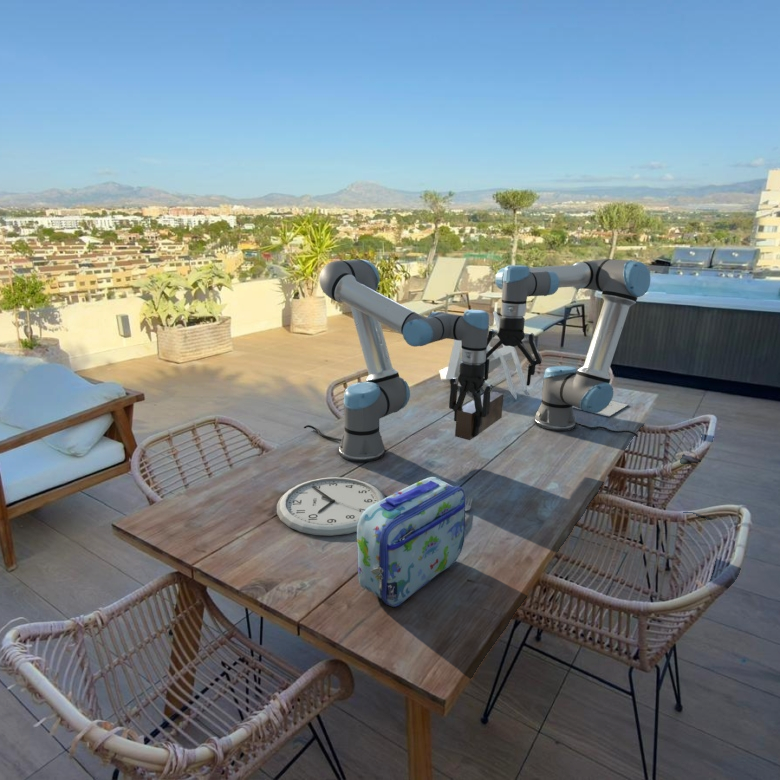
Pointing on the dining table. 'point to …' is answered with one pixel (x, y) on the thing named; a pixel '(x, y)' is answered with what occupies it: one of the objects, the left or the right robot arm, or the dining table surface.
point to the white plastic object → (494, 362)
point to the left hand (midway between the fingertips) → (466, 433)
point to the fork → (467, 507)
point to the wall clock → (327, 505)
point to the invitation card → (611, 408)
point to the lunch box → (410, 539)
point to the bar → (468, 413)
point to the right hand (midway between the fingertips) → (506, 382)
